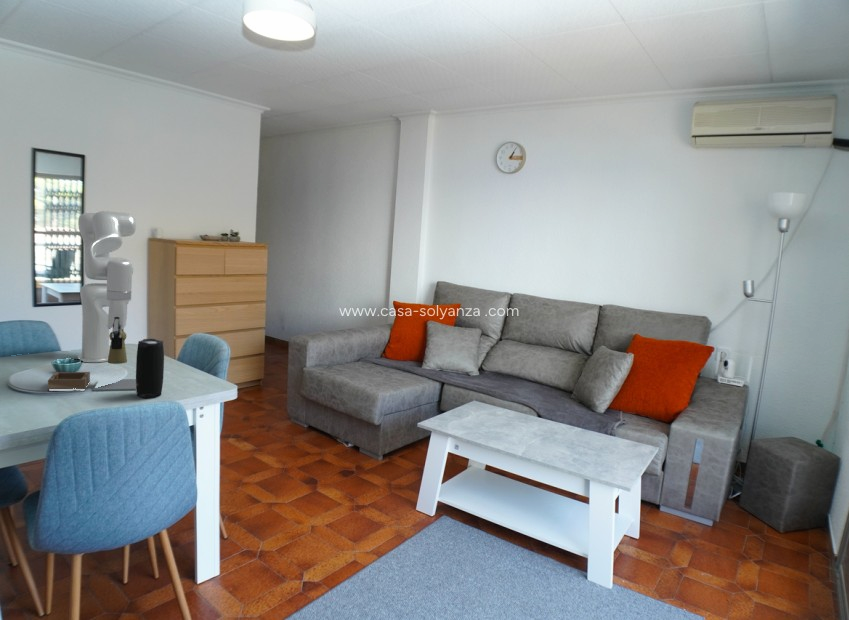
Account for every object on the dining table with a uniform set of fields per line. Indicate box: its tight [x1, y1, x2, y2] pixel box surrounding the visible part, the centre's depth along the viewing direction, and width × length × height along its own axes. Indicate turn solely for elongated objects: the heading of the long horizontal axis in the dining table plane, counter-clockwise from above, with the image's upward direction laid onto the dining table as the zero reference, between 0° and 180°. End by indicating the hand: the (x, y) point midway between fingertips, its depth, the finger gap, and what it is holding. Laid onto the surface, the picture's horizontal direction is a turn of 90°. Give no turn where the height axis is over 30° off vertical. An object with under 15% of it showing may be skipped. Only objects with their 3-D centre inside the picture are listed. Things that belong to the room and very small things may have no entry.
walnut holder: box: [47, 371, 91, 390], centre depth 185 cm, size 10×10×4 cm
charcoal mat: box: [92, 378, 136, 392], centre depth 192 cm, size 13×13×1 cm
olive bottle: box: [107, 330, 128, 365], centre depth 190 cm, size 6×6×11 cm
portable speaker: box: [135, 338, 165, 399], centre depth 183 cm, size 8×9×19 cm
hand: (117, 346), depth 190 cm, fingers closed on olive bottle, 5 cm apart
